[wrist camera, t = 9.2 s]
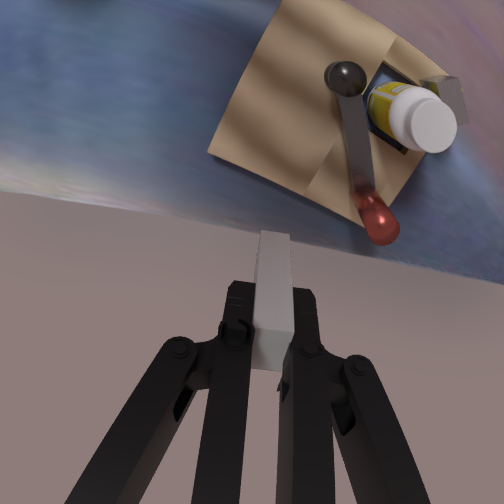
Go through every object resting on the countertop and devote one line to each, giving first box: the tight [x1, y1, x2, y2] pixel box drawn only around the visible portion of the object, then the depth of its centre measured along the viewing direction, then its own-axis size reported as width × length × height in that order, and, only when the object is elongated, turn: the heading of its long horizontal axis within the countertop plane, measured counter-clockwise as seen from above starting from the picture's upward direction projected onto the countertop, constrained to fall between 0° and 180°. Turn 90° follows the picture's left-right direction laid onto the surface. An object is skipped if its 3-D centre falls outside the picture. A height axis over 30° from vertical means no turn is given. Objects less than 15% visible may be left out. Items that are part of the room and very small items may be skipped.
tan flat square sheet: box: [207, 0, 463, 228], centre depth 29 cm, size 22×22×2 cm
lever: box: [328, 61, 400, 246], centre depth 26 cm, size 16×4×9 cm, turn 15°
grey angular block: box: [419, 74, 469, 126], centre depth 25 cm, size 5×3×6 cm, turn 25°
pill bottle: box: [367, 81, 457, 153], centre depth 25 cm, size 6×6×11 cm
